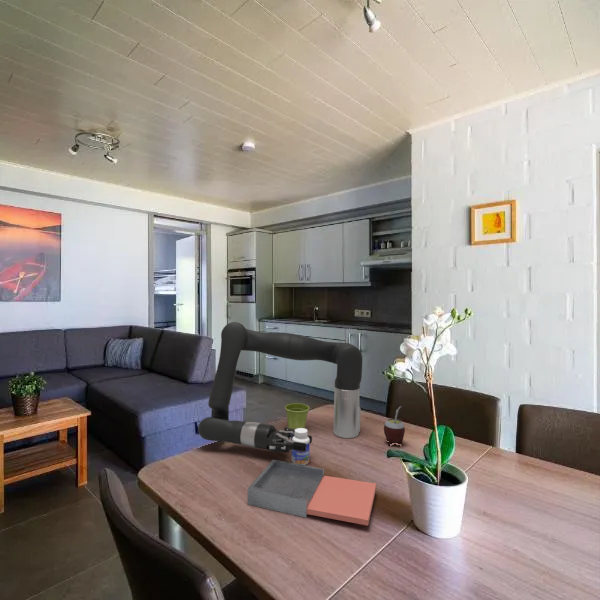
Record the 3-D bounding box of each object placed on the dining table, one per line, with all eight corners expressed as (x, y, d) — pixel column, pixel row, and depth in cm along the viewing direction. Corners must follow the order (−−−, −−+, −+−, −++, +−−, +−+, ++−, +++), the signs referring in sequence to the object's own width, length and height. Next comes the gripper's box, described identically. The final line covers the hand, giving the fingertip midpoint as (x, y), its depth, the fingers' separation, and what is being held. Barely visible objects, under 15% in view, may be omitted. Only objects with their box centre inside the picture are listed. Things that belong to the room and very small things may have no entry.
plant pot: (313, 428, 137) (314, 406, 136) (300, 436, 129) (301, 413, 128) (293, 423, 142) (293, 401, 141) (279, 431, 134) (279, 407, 133)
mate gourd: (389, 438, 129) (391, 396, 129) (410, 445, 124) (411, 401, 124) (378, 444, 124) (380, 401, 124) (399, 451, 119) (400, 406, 118)
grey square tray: (247, 504, 87) (247, 488, 87) (272, 473, 102) (273, 459, 102) (306, 517, 82) (306, 500, 82) (323, 483, 97) (324, 468, 97)
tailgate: (306, 508, 82) (368, 520, 78) (324, 475, 97) (376, 483, 93) (306, 515, 82) (368, 527, 78) (324, 481, 97) (376, 489, 93)
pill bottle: (296, 467, 106) (297, 435, 106) (288, 459, 111) (289, 428, 110) (312, 463, 108) (313, 432, 108) (304, 456, 113) (304, 425, 113)
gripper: (248, 431, 107) (302, 440, 102) (267, 416, 121) (315, 423, 115) (247, 456, 107) (301, 466, 102) (266, 438, 121) (315, 446, 116)
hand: (308, 443), depth 109 cm, fingers closed on pill bottle, 5 cm apart
